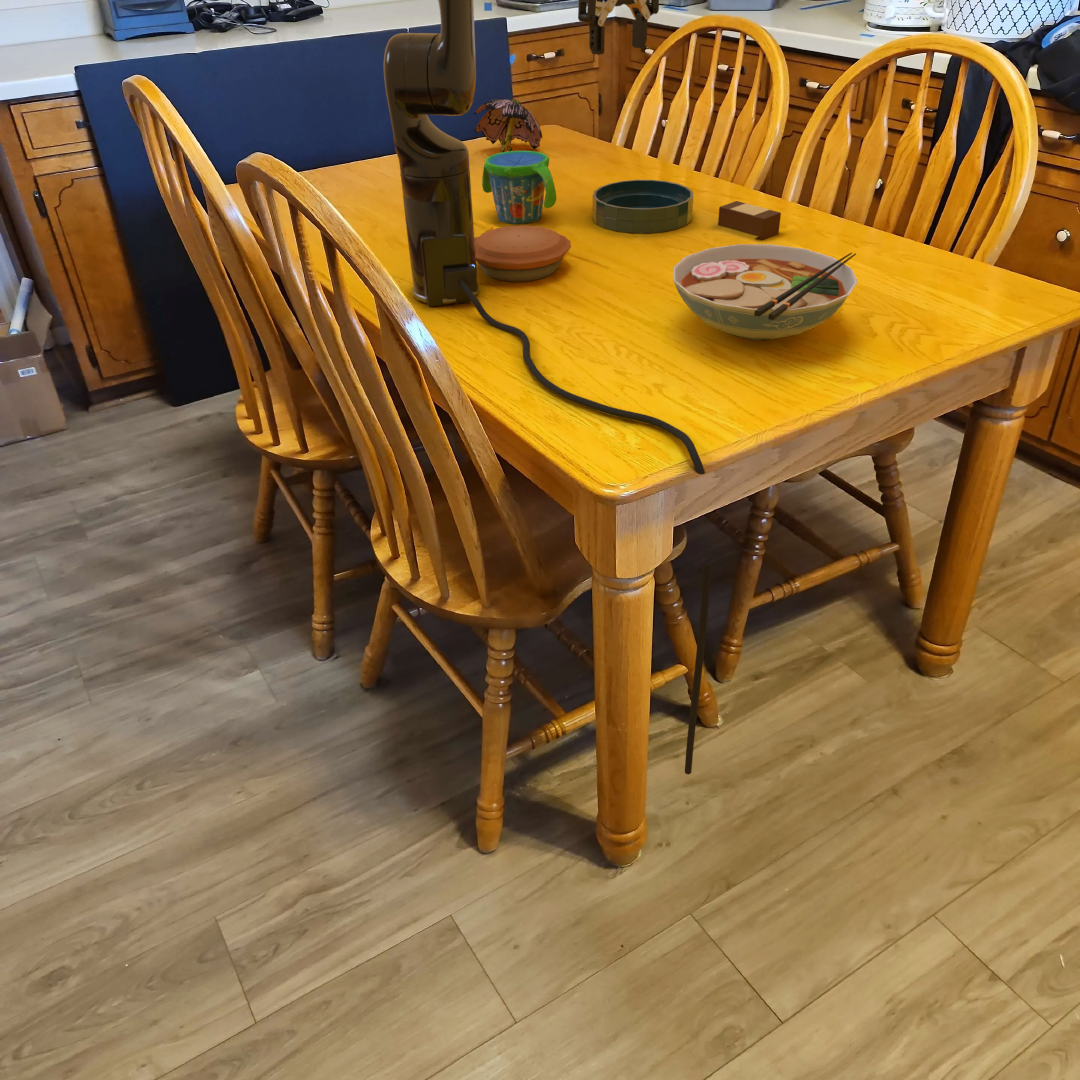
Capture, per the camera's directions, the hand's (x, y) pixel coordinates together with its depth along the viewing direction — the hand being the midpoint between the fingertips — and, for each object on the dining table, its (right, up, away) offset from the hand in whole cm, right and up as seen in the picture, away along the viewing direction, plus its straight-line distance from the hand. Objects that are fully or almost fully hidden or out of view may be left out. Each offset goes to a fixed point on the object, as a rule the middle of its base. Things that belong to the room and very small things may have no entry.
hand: (618, 50), depth 144 cm
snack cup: (-15, -20, +18) cm, 31 cm away
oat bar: (+22, -24, +10) cm, 34 cm away
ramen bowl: (+16, -47, -21) cm, 54 cm away
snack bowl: (+5, -20, +16) cm, 27 cm away
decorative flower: (-18, +7, +55) cm, 58 cm away
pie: (-15, -34, -1) cm, 37 cm away
